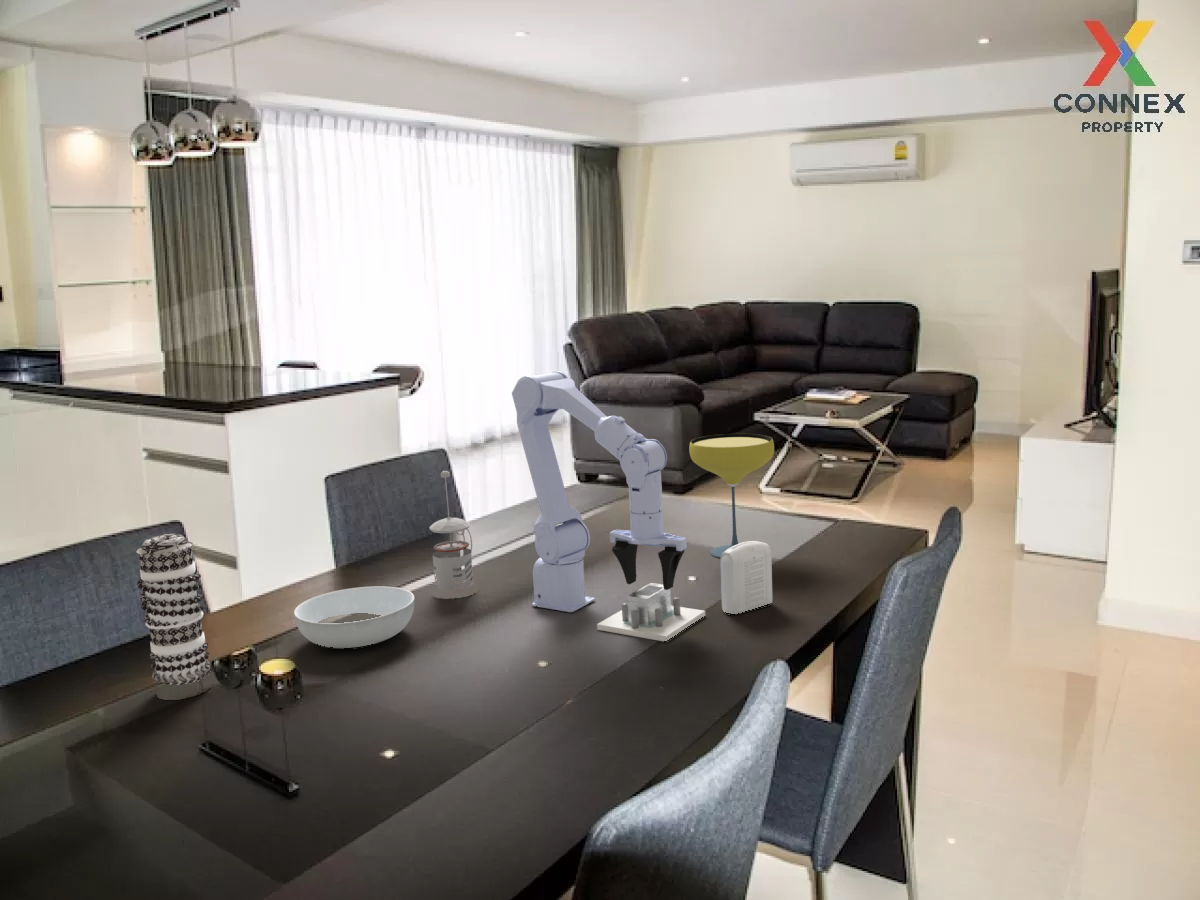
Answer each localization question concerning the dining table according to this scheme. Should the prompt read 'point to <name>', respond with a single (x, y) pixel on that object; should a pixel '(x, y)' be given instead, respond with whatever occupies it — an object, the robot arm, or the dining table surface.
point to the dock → (659, 629)
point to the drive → (649, 603)
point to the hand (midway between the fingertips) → (649, 585)
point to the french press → (452, 552)
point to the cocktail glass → (731, 462)
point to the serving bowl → (371, 600)
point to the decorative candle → (173, 610)
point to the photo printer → (746, 577)
